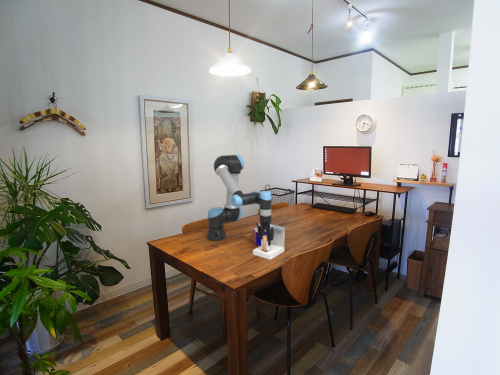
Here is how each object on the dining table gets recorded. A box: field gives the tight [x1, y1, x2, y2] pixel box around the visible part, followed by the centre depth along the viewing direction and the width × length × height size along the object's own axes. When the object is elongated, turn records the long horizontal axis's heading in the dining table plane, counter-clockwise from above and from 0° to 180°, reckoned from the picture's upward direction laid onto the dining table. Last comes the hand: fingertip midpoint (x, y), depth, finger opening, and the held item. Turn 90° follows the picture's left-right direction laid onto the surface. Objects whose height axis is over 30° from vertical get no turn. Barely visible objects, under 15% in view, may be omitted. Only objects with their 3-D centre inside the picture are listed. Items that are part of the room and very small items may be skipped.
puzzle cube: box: [252, 227, 267, 246], centre depth 203 cm, size 10×10×10 cm
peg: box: [263, 235, 268, 252], centre depth 180 cm, size 4×4×13 cm
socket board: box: [252, 224, 286, 261], centre depth 183 cm, size 15×17×17 cm
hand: (265, 249), depth 181 cm, fingers closed on peg, 3 cm apart
